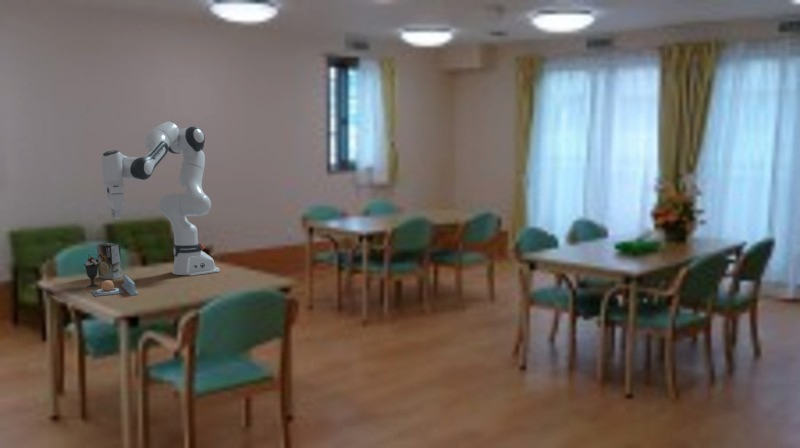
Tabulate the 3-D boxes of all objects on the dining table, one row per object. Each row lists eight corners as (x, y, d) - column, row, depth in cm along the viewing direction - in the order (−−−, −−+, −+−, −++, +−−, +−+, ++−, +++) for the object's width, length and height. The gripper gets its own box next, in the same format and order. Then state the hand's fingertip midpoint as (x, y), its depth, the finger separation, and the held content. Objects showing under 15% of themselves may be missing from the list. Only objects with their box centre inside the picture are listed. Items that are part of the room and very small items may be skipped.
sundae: (85, 288, 338) (83, 255, 336) (84, 285, 344) (82, 252, 342) (101, 286, 341) (99, 253, 340) (99, 284, 347) (98, 251, 345)
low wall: (128, 285, 345) (128, 274, 344) (137, 294, 326) (137, 283, 325) (121, 286, 343) (121, 275, 343) (130, 295, 324) (130, 283, 324)
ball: (113, 289, 333) (112, 278, 332) (115, 292, 329) (114, 281, 328) (100, 290, 331) (100, 279, 330) (102, 293, 327) (102, 282, 326)
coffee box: (122, 277, 364) (121, 243, 362) (113, 279, 358) (111, 245, 356) (107, 275, 367) (105, 242, 365) (97, 278, 361) (96, 244, 359)
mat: (120, 288, 338) (120, 286, 338) (124, 293, 328) (124, 291, 328) (91, 291, 332) (91, 289, 332) (95, 296, 322) (95, 294, 322)
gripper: (102, 185, 345) (104, 215, 348) (110, 190, 328) (112, 222, 330) (116, 184, 348) (119, 214, 351) (125, 189, 331) (127, 220, 333)
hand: (116, 218), depth 340 cm, fingers open, 8 cm apart
